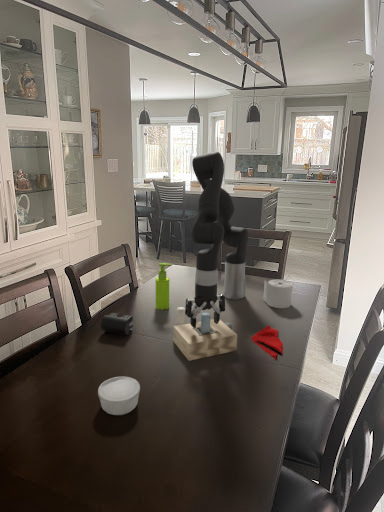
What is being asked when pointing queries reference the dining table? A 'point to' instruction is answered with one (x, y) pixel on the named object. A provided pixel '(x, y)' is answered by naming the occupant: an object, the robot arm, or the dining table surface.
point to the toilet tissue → (278, 293)
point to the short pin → (229, 325)
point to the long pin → (205, 323)
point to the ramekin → (119, 395)
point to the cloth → (268, 341)
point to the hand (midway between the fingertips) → (204, 324)
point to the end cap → (117, 324)
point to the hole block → (204, 340)
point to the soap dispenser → (162, 288)
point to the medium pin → (180, 316)
